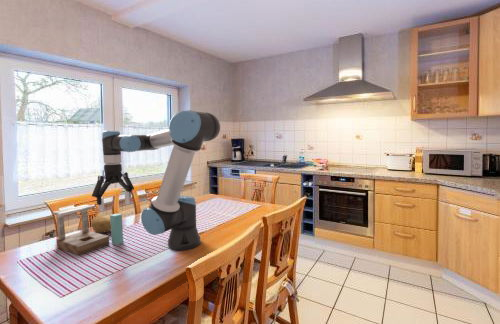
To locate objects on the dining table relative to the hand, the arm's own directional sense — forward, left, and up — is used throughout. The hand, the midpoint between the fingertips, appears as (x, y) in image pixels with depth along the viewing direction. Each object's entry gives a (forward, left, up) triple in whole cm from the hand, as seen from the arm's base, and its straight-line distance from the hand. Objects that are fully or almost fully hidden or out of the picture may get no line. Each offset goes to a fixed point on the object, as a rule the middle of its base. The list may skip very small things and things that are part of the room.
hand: (115, 207), depth 131 cm
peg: (0, 0, -17) cm, 17 cm away
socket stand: (+11, +10, -17) cm, 23 cm away
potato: (+21, -6, -18) cm, 28 cm away
